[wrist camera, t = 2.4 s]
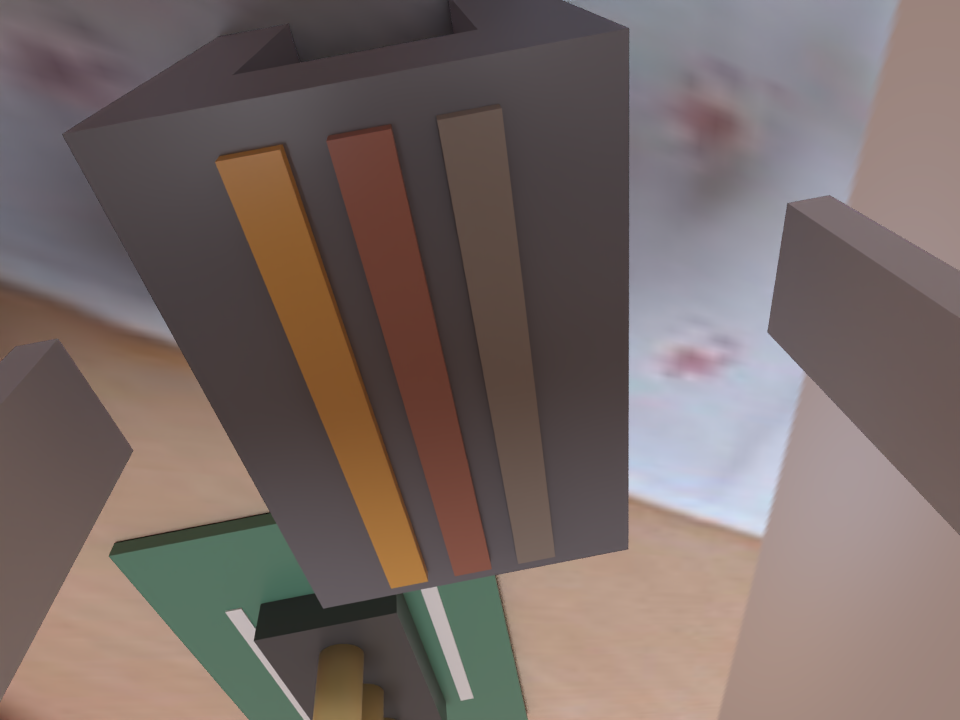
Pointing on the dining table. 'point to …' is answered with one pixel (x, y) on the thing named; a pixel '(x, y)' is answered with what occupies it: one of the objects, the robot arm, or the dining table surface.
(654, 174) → the dining table surface
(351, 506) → the plug
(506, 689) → the pcb
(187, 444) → the dining table surface
